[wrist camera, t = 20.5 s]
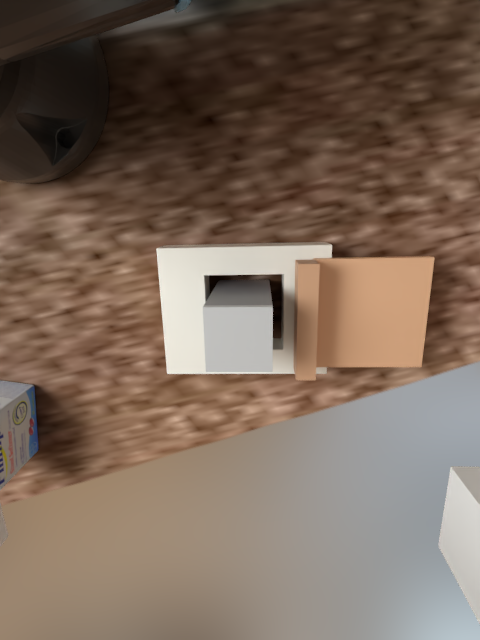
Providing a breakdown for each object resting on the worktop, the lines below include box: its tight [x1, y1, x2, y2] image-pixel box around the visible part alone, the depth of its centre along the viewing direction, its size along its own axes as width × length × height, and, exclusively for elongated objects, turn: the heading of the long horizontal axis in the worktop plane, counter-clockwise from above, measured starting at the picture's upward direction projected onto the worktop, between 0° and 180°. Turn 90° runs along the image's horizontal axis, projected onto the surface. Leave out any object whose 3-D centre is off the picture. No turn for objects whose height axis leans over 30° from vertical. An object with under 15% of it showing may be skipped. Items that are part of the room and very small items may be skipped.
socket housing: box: [156, 242, 332, 374], centre depth 33 cm, size 11×14×3 cm
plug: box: [203, 279, 273, 372], centre depth 29 cm, size 4×4×10 cm
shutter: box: [293, 256, 435, 380], centre depth 29 cm, size 9×10×3 cm
